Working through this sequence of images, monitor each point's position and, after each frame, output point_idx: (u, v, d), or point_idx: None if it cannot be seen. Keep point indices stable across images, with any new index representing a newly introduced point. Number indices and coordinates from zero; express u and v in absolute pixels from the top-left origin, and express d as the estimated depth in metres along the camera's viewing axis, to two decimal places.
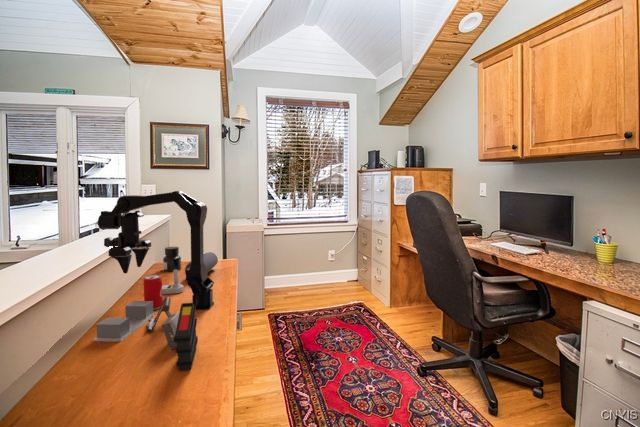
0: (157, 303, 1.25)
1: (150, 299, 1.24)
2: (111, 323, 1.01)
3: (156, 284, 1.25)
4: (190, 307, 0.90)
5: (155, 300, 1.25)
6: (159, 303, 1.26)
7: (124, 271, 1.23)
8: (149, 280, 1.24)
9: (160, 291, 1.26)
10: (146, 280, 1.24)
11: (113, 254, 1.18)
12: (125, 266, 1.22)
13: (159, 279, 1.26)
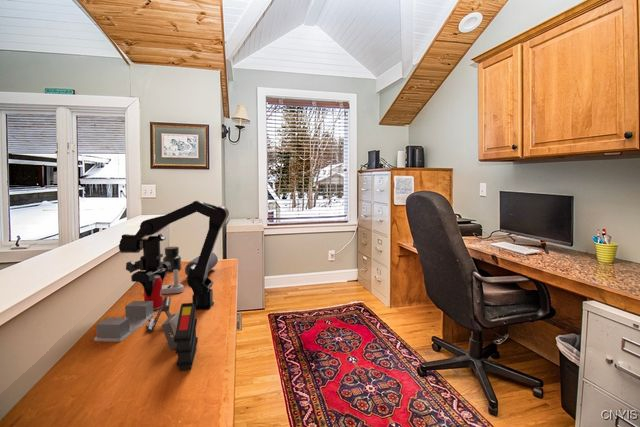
0: (157, 303, 1.25)
1: (150, 299, 1.24)
2: (111, 323, 1.01)
3: (156, 284, 1.25)
4: (190, 307, 0.90)
5: (155, 300, 1.25)
6: (159, 303, 1.26)
7: (147, 294, 1.23)
8: None
9: (160, 291, 1.26)
10: None
11: (136, 279, 1.17)
12: (149, 289, 1.22)
13: (159, 279, 1.26)
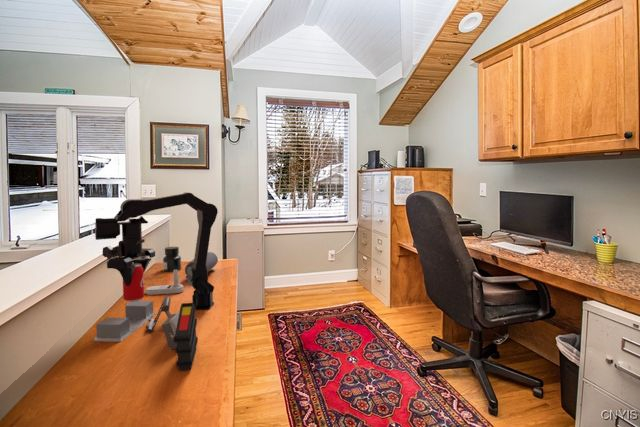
0: (137, 294, 1.13)
1: (129, 290, 1.12)
2: (111, 323, 1.01)
3: (136, 273, 1.12)
4: (190, 307, 0.90)
5: (135, 291, 1.12)
6: (139, 294, 1.13)
7: (126, 284, 1.11)
8: None
9: (141, 281, 1.14)
10: None
11: (112, 266, 1.04)
12: (127, 277, 1.10)
13: (140, 268, 1.13)
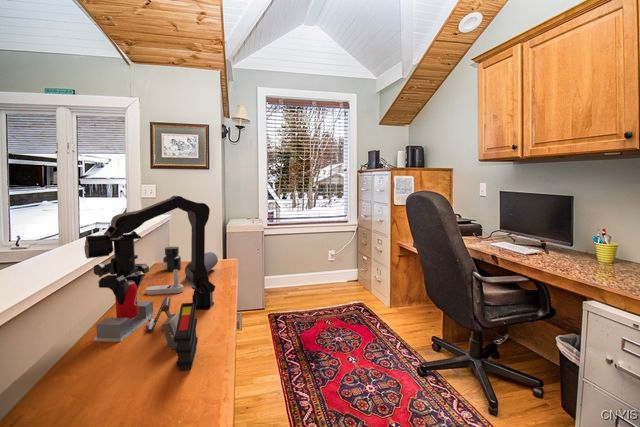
0: (131, 313, 1.09)
1: (122, 309, 1.07)
2: (111, 323, 1.01)
3: (130, 291, 1.08)
4: (190, 307, 0.90)
5: (128, 310, 1.08)
6: (133, 313, 1.09)
7: (119, 302, 1.07)
8: None
9: (134, 299, 1.10)
10: None
11: (104, 285, 1.00)
12: (120, 296, 1.06)
13: (133, 285, 1.09)
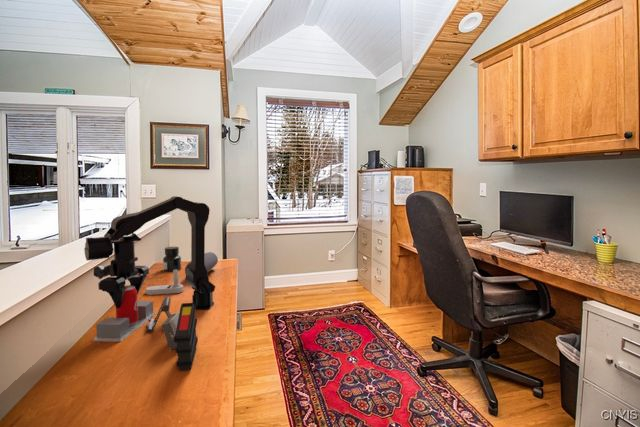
0: (131, 318, 1.09)
1: (122, 314, 1.08)
2: (111, 323, 1.01)
3: (130, 296, 1.08)
4: (190, 307, 0.90)
5: (128, 315, 1.08)
6: (133, 318, 1.09)
7: (116, 306, 1.05)
8: None
9: (134, 304, 1.10)
10: None
11: (104, 287, 1.00)
12: (117, 299, 1.04)
13: (133, 290, 1.09)
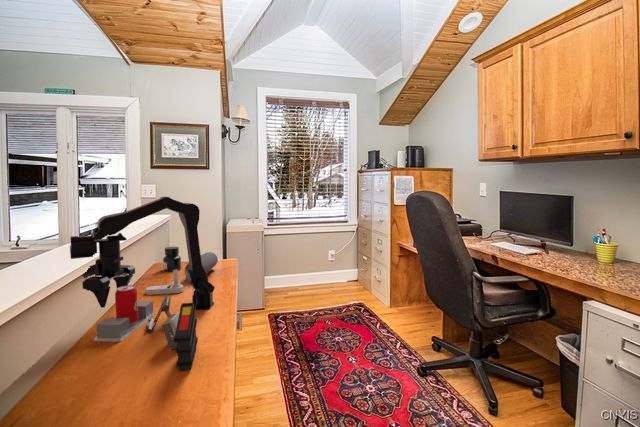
0: (131, 318, 1.09)
1: (122, 314, 1.08)
2: (111, 323, 1.01)
3: (130, 296, 1.08)
4: (190, 307, 0.90)
5: (128, 315, 1.08)
6: (133, 318, 1.09)
7: (101, 305, 1.05)
8: (121, 292, 1.07)
9: (134, 304, 1.10)
10: (118, 292, 1.07)
11: (88, 286, 1.00)
12: (102, 299, 1.04)
13: (133, 290, 1.09)
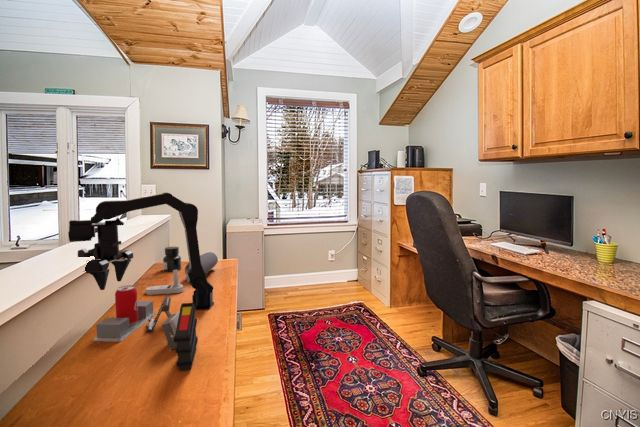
0: (131, 318, 1.09)
1: (122, 314, 1.08)
2: (111, 323, 1.01)
3: (130, 296, 1.08)
4: (190, 307, 0.90)
5: (128, 315, 1.08)
6: (133, 318, 1.09)
7: (101, 288, 1.08)
8: (121, 292, 1.07)
9: (134, 304, 1.10)
10: (118, 292, 1.07)
11: (87, 269, 1.03)
12: (101, 281, 1.07)
13: (133, 290, 1.09)
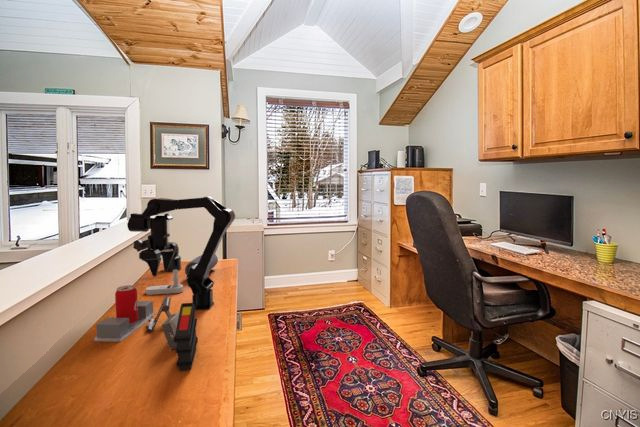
0: (131, 318, 1.09)
1: (122, 314, 1.08)
2: (111, 323, 1.01)
3: (130, 296, 1.08)
4: (190, 307, 0.90)
5: (128, 315, 1.08)
6: (133, 318, 1.09)
7: (153, 274, 1.23)
8: (121, 292, 1.07)
9: (134, 304, 1.10)
10: (118, 292, 1.07)
11: (144, 257, 1.18)
12: (154, 268, 1.22)
13: (133, 290, 1.09)
